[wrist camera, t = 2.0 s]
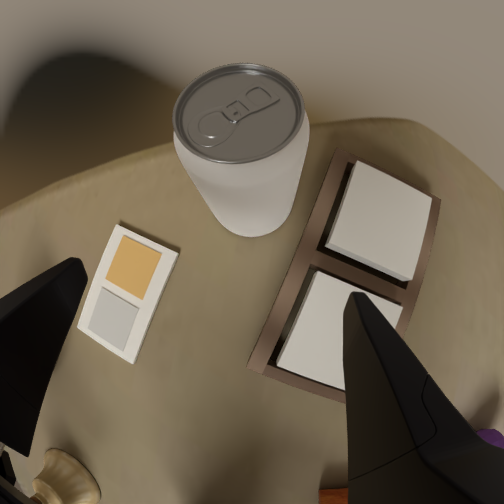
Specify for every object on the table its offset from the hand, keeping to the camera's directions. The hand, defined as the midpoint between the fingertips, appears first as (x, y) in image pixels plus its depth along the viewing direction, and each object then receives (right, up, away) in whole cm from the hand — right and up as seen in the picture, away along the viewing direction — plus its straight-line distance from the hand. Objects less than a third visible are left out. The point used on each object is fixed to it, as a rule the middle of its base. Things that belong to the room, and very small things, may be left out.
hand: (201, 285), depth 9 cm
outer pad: (+11, +3, +11) cm, 16 cm away
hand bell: (-19, -25, +11) cm, 33 cm away
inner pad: (+8, -5, +10) cm, 13 cm away
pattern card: (-9, -2, +13) cm, 16 cm away
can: (+2, +5, +14) cm, 15 cm away
